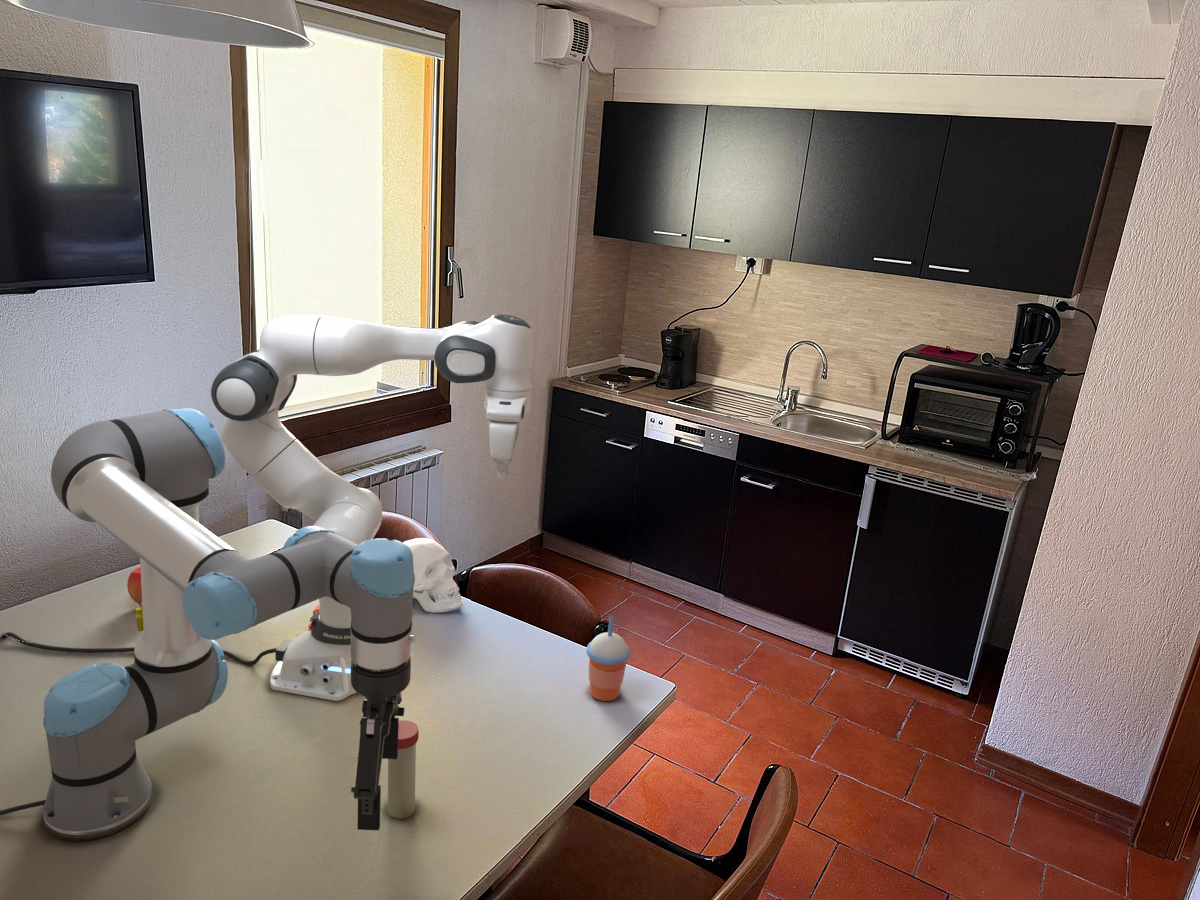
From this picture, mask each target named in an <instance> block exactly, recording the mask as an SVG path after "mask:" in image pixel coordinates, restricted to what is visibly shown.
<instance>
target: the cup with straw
mask: <svg viewBox="0 0 1200 900" xmlns="http://www.w3.org/2000/svg"><path fill="white" fill-rule="evenodd" d="M614 619H615V618H614V616H613V615H609V617H608V627H607V631H606V632H602V633H599V634H597V635H596V636H595V637H594V638H593V639H592V640H591V641H590V642H589V643H588V644H587V646H586V654H587V656H588V680H589V692H590V695H591V696H592V697H593V698H594V699H596V700H597V701H602V702H610V701H614V700H615V699H617V698H618V697H619V695H620V691H621V687H622V684H623V681H624V677H625V671H626V666H627V661H628V660H629V659H630V657H631V649H630V647H629V646H628V644H627V643H626V641H625V640H624V638H623V637H622V636H620V635H619V634H618V633H615V632H613V628H614Z"/></svg>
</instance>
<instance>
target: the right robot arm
mask: <svg viewBox="0 0 1200 900" xmlns="http://www.w3.org/2000/svg"><path fill="white" fill-rule="evenodd" d="M534 342H535V341H534V333H533V329H532V327H531V326H530V324H529V323H528V322H527V321H526V320H524V319H522V318H520V317H518V316H513V315H511V314H503V313H498V314H493V315H492V316H491V317H490V318H488V319H486V320H483V321H481V322H479V321H475V320H465V321H461V322H460V321H459V322H458V323H455V324H453V325H450V326H446V327H442V328H441V327H440V328H438V327H437V328H434V327H431V328H430V327H412V326H411V327H409V326H408V327H407V326H393V325H392V326H391V325H384V324H379V323H373V322H367V321H361V320H356V319H351V318H347V317H346V318H345V317H340V316H339V317H338V316H330V315H315V314H311V315H310V314H307V315H306V314H304V315H302V314H301V315H285V316H279V317H274V318H271V319H270V320H268V321H267V322H266V323H265V325H264V326H263V328H262V330H261V331H260V336H259V348H258V349H257V350H254V351H253V352H250V353H247V354H244V355H242V356H240V357H238V358H237V359H235V361H233V362H232V363H230V364H228V365H227V366H225V367H224V368H222V369H221V370H220V371H219V373H218V374H217V375H216V376H215V378H214V379H213V382H212V384H211V388H210V396H211V401H212V403H213V406H214V407H215V409H216V410H217V411H218V412H219V413H220V414H221V415H222V416H223V417H225V418H227V420H226V421H225V422H224V424H223V426H222V429H221V432H220V438H221V441H222V444H223V446H224V447H226V450H227V451H228V452H229V454H230V455H231V456H232V457H233V458H234V460H235V461H236V462H237V463H238V464H239V465H240V467H241V468H242V469H243V470H244V471H245V472H246V473H247V475H249V476H250V477H251V478H252V480H254V481H255V483H257V484H258V485H259V486H260V487H261V488H262V489H263V490H264V492H266V493H267V494H268V495H269V496H270V497H271V498H273V499H274V500H275V502H277V503H278V504H279V505H280V506H281V507H283V508H286V509H291V510H296V511H297V512H300V513H301V514H303V515H306V516H307V517H309V518H310V519H311V520H314V524H313V525H312V526H317V527H320V528H323V529H326V530H328V531H333V532H335V533H338V534H340V535H341V536H342V537H344V538H346V539H348V540H350V541H352V542H354V543H356V544H358V545H359V544H360V543H362V542H364V541H367V540H371V539H375V536H376V534H377V533H378V531H379V530H380V528H381V525H382V522H383V521H382V519H383V504H382V501H381V500H380V498H379V497H378V495H377V494H376V493H374V492H373V491H371V489H367V488H364V487H358V486H356V485H354V484H353V483H351V482H350V481H348V480H346V479H344V478H343V477H341V476H340V475H338V474H337V473H336V472H334V471H332V470H331V469H330V468H329V467H327V466H326V465H324V464H323V463H322V462H321V460H319V459H318V458H317V457H316V456H315V455H314V454H313V453H312V452H311V451H310V450H309V449H308V448H307V447H306V446H305V445H304V444H303V443H302V442H301V441H300V440H299V439H298V438H296V437H295V436H294V435H293V434H292V433H291V432H290V431H289V430H288V429H287V428H286V427H285V425H284V424H283V423H282V422H281V420H280V417H279V412H280V411H282V410H283V409H284V408H285V406H286V405H287V402H288V401H289V399H290V397H291V395H292V393H293V392H294V390H295V387H296V385H297V380H298V375H314V376H325V377H342V376H343V377H344V376H351V375H358V374H361V373H364V372H366V371H368V370H370V369H373V368H374V367H376V366H377V367H378V366H379V365H382V364H384V363H387V362H392V361H398V360H399V361H400V360H410V361H412V360H413V361H434V365H435V368H436V369H437V371H438V373H439V375H441V376H442V378H444V379H445V380H447V381H449V382H450V383H454V384H472V383H480V382H484V403H483V404H484V405H483V409H484V411H485V419H486V421H488V431H489V432H488V433H489V452H490V458H491V462H494V463H496V469H497V474H496V476H497V479H498V480H507V478H508V471H509V465H510V464H511V463H512V460H513V454H514V450H515V447H516V444H517V440H518V436H519V432H520V424H521V422H522V421H523V420H524V419H525V416H527V414H530V412H531V410H532V392H533V385H532V378H531V376H532V375H531V374H532V370H533V367H534V353H535V347H534V345H535V344H534ZM307 628H308V629H307V630H306V631H304V632H302V633H301V634H299V635H297V636H296V637H295V638H294V639H287V638H285V639H284V640H283V641H282V642H281V643H280V644H279V645H278V646H277V647H274V648H269V649H266V650H263V651H262V652H259V654H258V655H257V656H256V657H255V659H253V660H246V659H243V658H241V657H240V656H238V655H236V654H234V653H232V652H230V651H229V650H224V649H222V651H223V653H224V656H227V657H229V658H231V659H233V660H234V661H237V662H238V663H239V664H240V663H241V664H242V665H246V666H254V665H256V664H258V663H259V662H260V660H261V659H262V658H263V657H264V656H267V655H269V654H275V661H276V662H277V663H276V664H275V666H274V667H273V669H272V670H271V673H270V676H269V686H270V688H271V689H272V690H274V691H278V692H283V693H289V694H295V695H300V696H304V697H305V696H306V697H310V698H315V699H316V698H317V699H322V700H327V701H334V702H339V701H340V702H341V701H342V700H344V699H346V698H348V697H350V696H351V695H355V694H358V693H357V692H356V691H355V690H354V689H353V687H352V685H351V659H352V658H351V654H350V648H351V609H350V608H349V607H348V606H346V605H343V604H341V603H339V602H337V601H335V600H333V599H331V598H329V597H322V598H320V599H318V605H316V607H314V610H313V611H312V615H311V617H310V619H309V623H308V625H307ZM4 634H6V635H8V636H6V635H4ZM10 636H11V637H10ZM8 637H10V638H12V637H13V638H12V639H14V638H15V639H14V640H16V639H17V640H16V641H17V642H18V643H20V644H21V645H24V646H27V647H31V648H35V649H39V650H40V649H41V650H46V651H53V652H54V651H55V652H64V653H65V652H66V653H89V654H90V653H92V654H93V653H96V654H97V653H101V654H103V653H131V652H133V653H134V648H135V646H134V647H108V648H107V647H106V648H105V647H104V648H103V647H98V648H96V647H94V648H93V647H91V648H90V647H88V648H87V647H86V648H85V647H84V648H82V647H65V646H54V645H48V644H47V645H46V644H42V643H37V642H32V641H29V640H26V639H25V638H22V637H21V636H19V635H18V634H16V633H14V632H12V631H11V632H8V631H7V632H5V633H3V634H2V635H1V636H0V639H6V638H8ZM18 640H20V641H18ZM22 641H24V642H22ZM26 641H27V642H28V643H27V642H26ZM29 642H30V643H29ZM31 642H32V643H31Z"/></svg>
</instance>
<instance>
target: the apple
mask: <svg viewBox="0 0 1200 900" xmlns="http://www.w3.org/2000/svg"><path fill="white" fill-rule="evenodd" d="M126 588H127V593H128V596H129V597H130V598H131V599H132V601H134V602H135V603H136V604H138V605H139V606H140V607H142V588H141V569H140V566H139V567H137V568H135V569H133V570H132V571H131V572H130V574H129V575H128V577H127V584H126Z"/></svg>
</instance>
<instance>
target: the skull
mask: <svg viewBox="0 0 1200 900" xmlns="http://www.w3.org/2000/svg"><path fill="white" fill-rule="evenodd" d="M402 543H404V544H406V545H407V546H408V547H409V548H410V550H411V552H412V554H413V567H414V575H415V576H414V577H415V582H414V587H413V599H416V600H417V601H418V603H419V604H420V605H421V607H422V609H423V610H424V612H425V611H426V612H427V613H433V614H435V613H436V614H437V613H447V612H451V611H454V610H455V611H456V610H458V609H460V608H463V606H464V602H465V601H464V600H463V599H462V596H461V594H460V587H459V586H458V584H457V583H456V581H455V580H454V577H455V576H456V574H457V572H456V568H455V566H454V564H453V561H452V559H451V554H450V552H449V551H447V550H446V549H445V548H444V547H443V545H441V544H440V543H439V542H437V541H436V540H434V539H431V538H425V537H419V538H417V537H416V538H413V539H408V540H405V541H402ZM430 596H431V597H433V599H434V600H432V599H431V597H430Z"/></svg>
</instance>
